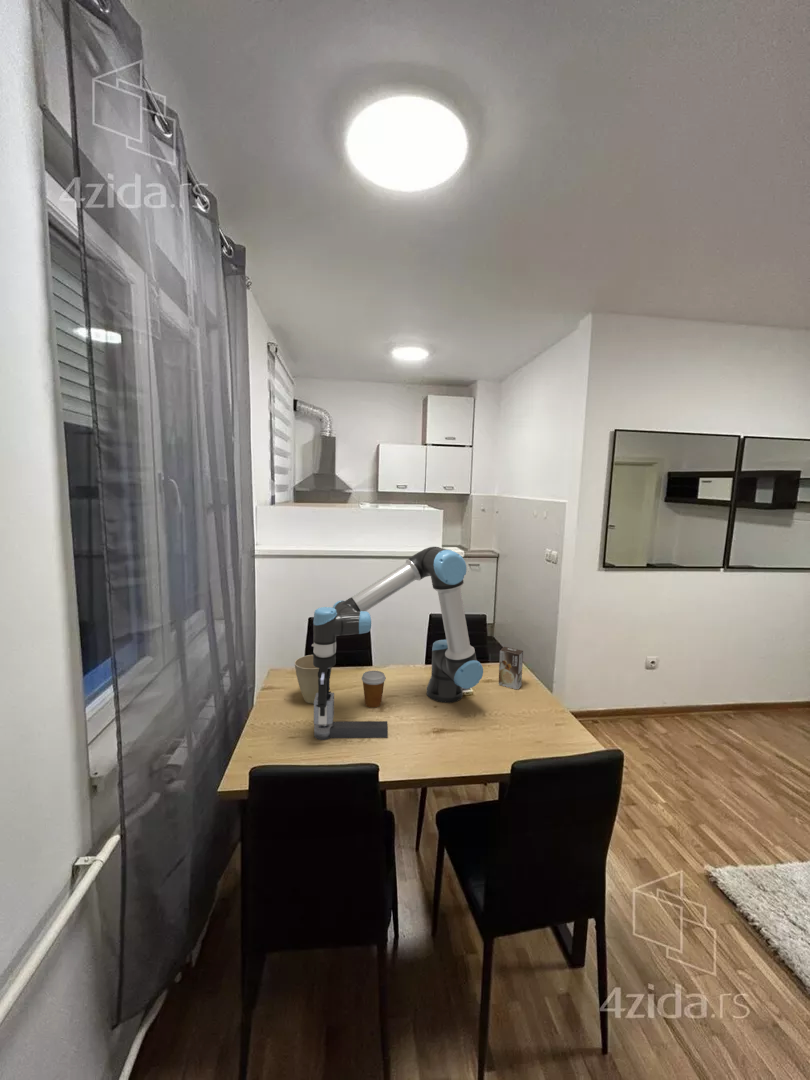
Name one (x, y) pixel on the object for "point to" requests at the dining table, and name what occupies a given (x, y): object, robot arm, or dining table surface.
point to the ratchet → (351, 730)
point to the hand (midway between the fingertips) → (323, 718)
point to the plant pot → (307, 677)
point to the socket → (329, 708)
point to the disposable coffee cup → (373, 687)
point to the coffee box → (510, 667)
